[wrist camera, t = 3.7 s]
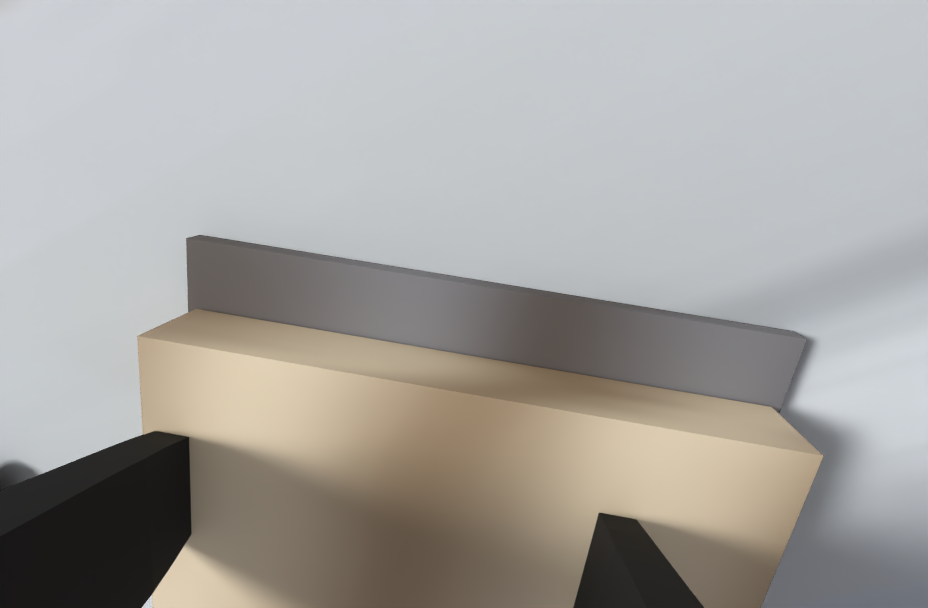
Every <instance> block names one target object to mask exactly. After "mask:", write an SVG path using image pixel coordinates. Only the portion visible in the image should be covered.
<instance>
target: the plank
mask: <svg viewBox="0 0 928 608" xmlns="http://www.w3.org/2000/svg"><path fill="white" fill-rule="evenodd" d="M137 338H138V356H139V374H140V391H141V409H142V427H143V435H144V434H147V433H150V432H153V431H160V432H165V433H171V434H176V435H182V436H187V437H189V452H190V491H191V531H192V534H191V536H190V537H189V539H188V541H187V542H186V544H185V545H184V547H183V548H182V550H181V552H180V553H179V555H178V556H177V558H176V560H175V561H174V563H173V564H172V566H171V567H170V569H169V570H168V572H167V573H166V575H165V576H164V578H163V579H162V581H161V582H160V584H159V585H158V586H157V588H156V589H155V591H154V592H153V594H152V603H153V608H573V607H574V603H575V599H576V596H577V592H578V588H579V585H580V581H581V577H582V573H583V570H584V566H585V562H586V559H587V555H588V551H589V547H590V544H591V540H592V536H593V532H594V529H595V525H596V521H597V518H598V514H599V512H600V513H605V514H610V515H616V516H621V517H627V518H632V519H636V520H637V521H638V522H639V523H640V525H641V526H642V527H643V528H644V530H645V531H646V532H647V534H648V535H649V536H650V537H651V539H652V540H653V541H654V543H655V544H656V545H657V547H658V548H659V549H660V551H661V552H662V553H663V555H664V556H665V557H666V558H667V560H668V561H669V562H670V564H671V565H672V566H673V568H674V569H675V570H676V572H677V573H678V574H679V576H680V577H681V578H682V579H683V581H684V582H685V583H686V585H687V586H688V587H689V589H690V590H691V591H692V592H693V594H694V595H695V596H696V598H697V599H698V600H699V601H700V603H701V604H702V605H703V607H704V608H761V606H762V603H763V601H764V599H765V596H766V594H767V591H768V589H769V587H770V584H771V582H772V579H773V577H774V574H775V572H776V570H777V567H778V565H779V562H780V560H781V558H782V555H783V553H784V550H785V548H786V545H787V543H788V541H789V538H790V536H791V533H792V531H793V529H794V526H795V524H796V521H797V519H798V517H799V514H800V512H801V509H802V507H803V504H804V502H805V500H806V497H807V495H808V492H809V490H810V488H811V485H812V483H813V480H814V478H815V475H816V473H817V471H818V468H819V466H820V463H821V461H822V459H823V455H822V454H821V453H820V452H819V451H818V450H817V449H816V448H815V447H814V446H813V445H811V444H810V443H809V442H808V441H807V440H806V439H805V438H804V437H803V436H802V435H801V434H800V433H799V432H798V431H797V430H796V429H794V428H793V427H792V426H791V425H790V424H789V423H788V422H787V421H786V420H785V419H784V418H783V417H782V416H781V415H780V414H779V413H777V412H776V411H775V410H774V409H773V408H772V407H769V406H763V405H757V404H751V403H746V402H740V401H734V400H728V399H722V398H716V397H710V396H704V395H699V394H693V393H687V392H681V391H675V390H669V389H663V388H658V387H652V386H646V385H640V384H634V383H628V382H622V381H617V380H611V379H605V378H599V377H593V376H587V375H581V374H575V373H570V372H564V371H558V370H552V369H546V368H540V367H534V366H529V365H523V364H517V363H511V362H505V361H499V360H493V359H488V358H482V357H476V356H470V355H464V354H458V353H452V352H446V351H441V350H435V349H429V348H423V347H417V346H411V345H405V344H400V343H394V342H388V341H382V340H376V339H370V338H364V337H359V336H353V335H347V334H341V333H335V332H329V331H323V330H317V329H312V328H306V327H300V326H294V325H288V324H282V323H276V322H271V321H265V320H259V319H253V318H247V317H241V316H235V315H229V314H224V313H218V312H212V311H206V310H200V309H195V310H193V311H191V312H188V313H186V314H184V315H182V316H180V317H178V318H175V319H173V320H171V321H169V322H167V323H165V324H162V325H160V326H158V327H156V328H154V329H152V330H149V331H147V332H145V333H143V334H141V335H139V336H137Z"/></svg>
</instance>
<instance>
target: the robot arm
mask: <svg viewBox="0 0 928 608" xmlns="http://www.w3.org/2000/svg"><path fill="white" fill-rule="evenodd" d="M191 534H192V531H191V491H190V452H189V437H187V436H182V435H176V434H171V433H165V432H160V431H153V432H150V433H147V434H144V435H141V436H138V437H135V438H132V439H130V440H127V441H124V442H122V443H119V444H116V445H114V446H111V447H109V448H106V449H103V450H101V451H98V452H96V453H93V454H91V455H88V456H86V457H83V458H81V459H78V460H76V461H73V462H71V463H68V464H66V465H63V466H61V467H58V468H56V469H53V470H51V471H48V472H46V473H43V474H41V475H38V476H36V477H33V478H31V479H28V480H26V481H23V482H21V483H18V484H16V485H13V486H11V487H8V488H6V489H3V490H1V491H0V608H141V607H142V606H143V605H144V604H145V602H146V601H147V600H148V599H149V597H150V596H151V595H152V594H153V592H154V591H155V589H156V588H157V586H158V585H159V584H160V582H161V581H162V579H163V578H164V576H165V575H166V573H167V572H168V570H169V569H170V567H171V566H172V564H173V563H174V561H175V560H176V558H177V556H178V555H179V553H180V552H181V550H182V548H183V547H184V545H185V544H186V542H187V541H188V539H189V537H190V536H191ZM573 608H704V607H703V605H702V604H701V603H700V601H699V600H698V599H697V598H696V596H695V595H694V594H693V592H692V591H691V590H690V589H689V587H688V586H687V585H686V583H685V582H684V581H683V579H682V578H681V577H680V576H679V574H678V573H677V572H676V570H675V569H674V568H673V566H672V565H671V564H670V562H669V561H668V560H667V558H666V557H665V556H664V555H663V553H662V552H661V551H660V549H659V548H658V547H657V545H656V544H655V543H654V541H653V540H652V539H651V537H650V536H649V535H648V534H647V532H646V531H645V530H644V528H643V527H642V526H641V525H640V523H639V522H638V521H637V520H636V519H632V518H627V517H621V516H616V515H610V514H605V513H600V512H599V514H598V518H597V521H596V525H595V529H594V532H593V536H592V540H591V544H590V547H589V551H588V555H587V559H586V562H585V566H584V570H583V573H582V577H581V581H580V585H579V588H578V592H577V596H576V599H575V603H574V607H573Z"/></svg>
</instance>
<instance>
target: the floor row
mask: <svg viewBox="0 0 928 608" xmlns="http://www.w3.org/2000/svg"><path fill="white" fill-rule="evenodd" d="M186 244H187V280H188V312H191V311H193V310H195V309H200V310H206V311H212V312H218V313H224V314H229V315H235V316H241V317H247V318H253V319H259V320H265V321H271V322H276V323H282V324H288V325H294V326H300V327H306V328H312V329H317V330H323V331H329V332H335V333H341V334H347V335H353V336H359V337H364V338H370V339H376V340H382V341H388V342H394V343H400V344H405V345H411V346H417V347H423V348H429V349H435V350H441V351H446V352H452V353H458V354H464V355H470V356H476V357H482V358H488V359H493V360H499V361H505V362H511V363H517V364H523V365H529V366H534V367H540V368H546V369H552V370H558V371H564V372H570V373H575V374H581V375H587V376H593V377H599V378H605V379H611V380H617V381H622V382H628V383H634V384H640V385H646V386H652V387H658V388H663V389H669V390H675V391H681V392H687V393H693V394H699V395H704V396H710V397H716V398H722V399H728V400H734V401H740V402H746V403H751V404H757V405H763V406H769V407H772V408H773V409H774V410H775V411H776V412H777V413H779V412H780V410H781V407H782V404H783V402H784V399H785V396H786V394H787V391H788V388H789V386H790V383H791V380H792V378H793V375H794V372H795V370H796V367H797V364H798V362H799V359H800V356H801V354H802V351H803V348H804V346H805V343H806V340H807V339H806V338H804V337H802V336H801V335H799V334H797V333H796V332H794V331H788V330H782V329H776V328H770V327H764V326H758V325H751V324H745V323H739V322H733V321H727V320H721V319H714V318H708V317H702V316H696V315H690V314H684V313H678V312H671V311H665V310H659V309H653V308H647V307H641V306H634V305H628V304H622V303H616V302H610V301H604V300H597V299H591V298H585V297H579V296H573V295H567V294H560V293H554V292H548V291H542V290H536V289H530V288H524V287H517V286H511V285H505V284H499V283H493V282H487V281H480V280H474V279H468V278H462V277H456V276H450V275H443V274H437V273H431V272H425V271H419V270H413V269H406V268H400V267H394V266H388V265H382V264H376V263H369V262H363V261H357V260H351V259H345V258H339V257H333V256H326V255H320V254H314V253H308V252H302V251H296V250H289V249H283V248H277V247H271V246H265V245H259V244H252V243H246V242H240V241H234V240H228V239H222V238H215V237H209V236H203V235H198V236H194V237H189V238H186Z"/></svg>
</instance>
